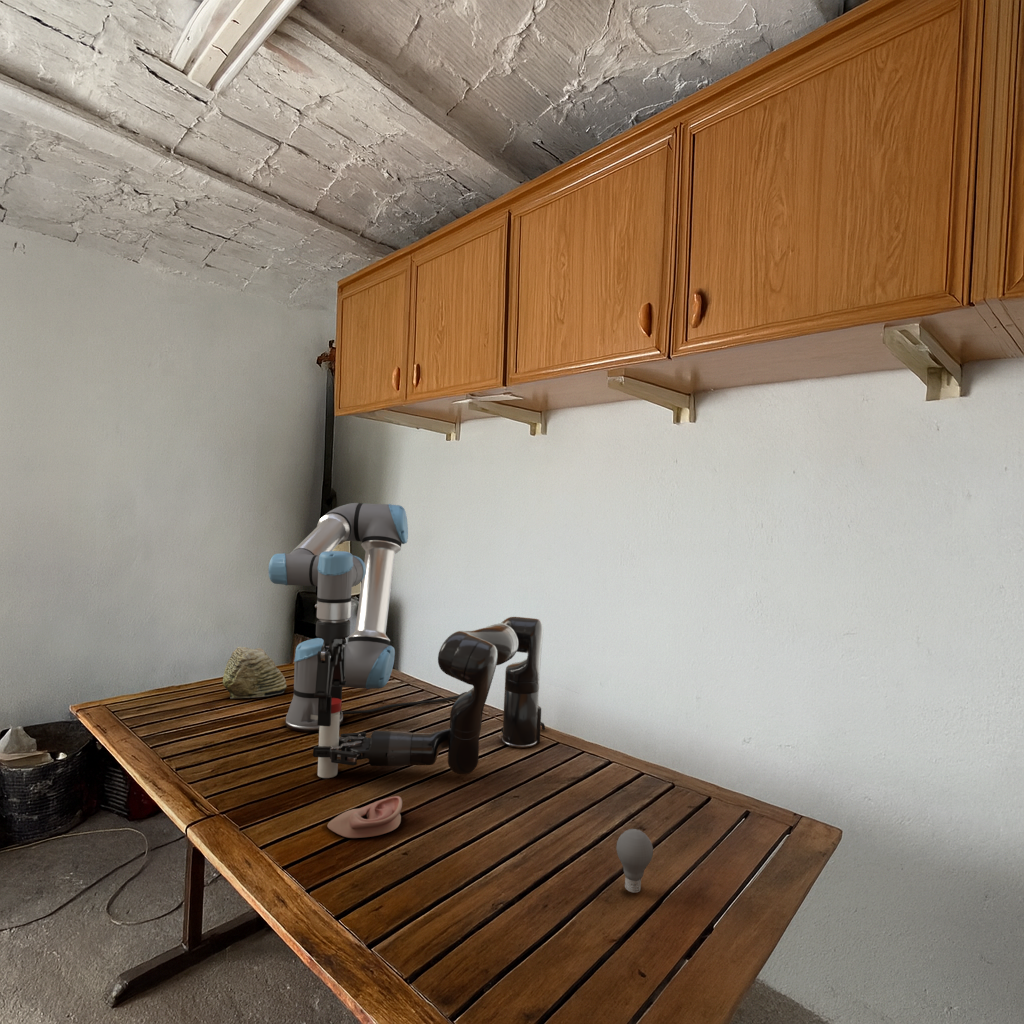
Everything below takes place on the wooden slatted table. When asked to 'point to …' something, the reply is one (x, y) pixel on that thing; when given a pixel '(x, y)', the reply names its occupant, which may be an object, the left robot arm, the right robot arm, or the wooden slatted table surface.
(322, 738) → the white bottle
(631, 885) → the light bulb
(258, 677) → the fossil
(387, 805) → the anatomical model
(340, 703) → the lid
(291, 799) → the wooden slatted table surface
